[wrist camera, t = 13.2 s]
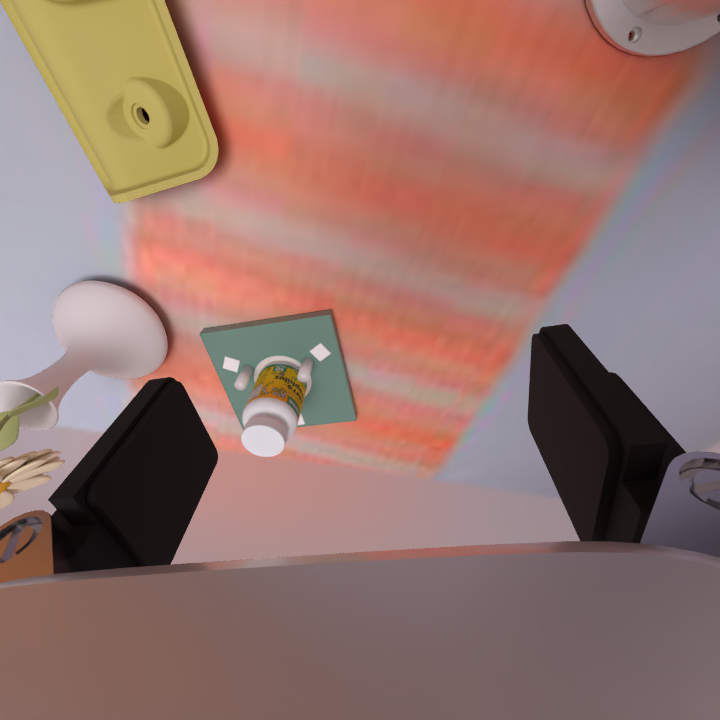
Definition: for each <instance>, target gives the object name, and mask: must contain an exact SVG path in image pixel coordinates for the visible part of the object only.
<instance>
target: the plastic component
mask: <svg viewBox="0 0 720 720" xmlns="http://www.w3.org/2000/svg"><path fill="white" fill-rule="evenodd" d="M0 2H1V4H2V6H3V8H4V9H5V11H6V13H7V15H8V16H9V18H10V20H11V22H12V24H13V25H14V27H15V29H16V31H17V33H18V34H19V36H20V38H21V40H22V41H23V43H24V45H25V47H26V49H27V50H28V52H29V54H30V56H31V57H32V59H33V61H34V63H35V65H36V66H37V68H38V70H39V72H40V73H41V75H42V77H43V79H44V81H45V82H46V84H47V86H48V88H49V89H50V91H51V93H52V95H53V97H54V98H55V100H56V102H57V104H58V105H59V107H60V109H61V111H62V113H63V114H64V116H65V118H66V120H67V121H68V123H69V125H70V127H71V129H72V130H73V132H74V134H75V136H76V137H77V139H78V141H79V143H80V145H81V146H82V148H83V150H84V152H85V153H86V155H87V157H88V159H89V161H90V162H91V164H92V166H93V168H94V169H95V171H96V173H97V175H98V176H99V178H100V180H101V182H102V183H103V185H104V187H105V189H106V190H107V192H108V194H109V196H110V197H111V199H112V200H113V202H114V203H122V202H126V201H130V200H133V199H136V198H139V197H143V196H146V195H149V194H152V193H156V192H159V191H162V190H165V189H169V188H172V187H175V186H178V185H182V184H185V183H188V182H191V181H194V180H198V179H201V178H203V177H204V176H206V175H208V174H209V173H210V172H211V170H212V169H213V168H214V166H215V164H216V162H217V158H218V142H217V138H216V135H215V132H214V130H213V127H212V125H211V122H210V119H209V117H208V114H207V111H206V109H205V106H204V103H203V101H202V98H201V95H200V93H199V90H198V88H197V85H196V82H195V80H194V77H193V74H192V72H191V69H190V66H189V64H188V61H187V58H186V56H185V53H184V51H183V48H182V45H181V43H180V40H179V37H178V35H177V32H176V29H175V27H174V24H173V21H172V19H171V16H170V14H169V11H168V8H167V6H166V3H165V0H0ZM142 108H143V109H145V110H146V112H147V113H148V115H149V119H150V120H149V122H148V121H146V120H145V118H144V117H143V114H142Z"/></svg>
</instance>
